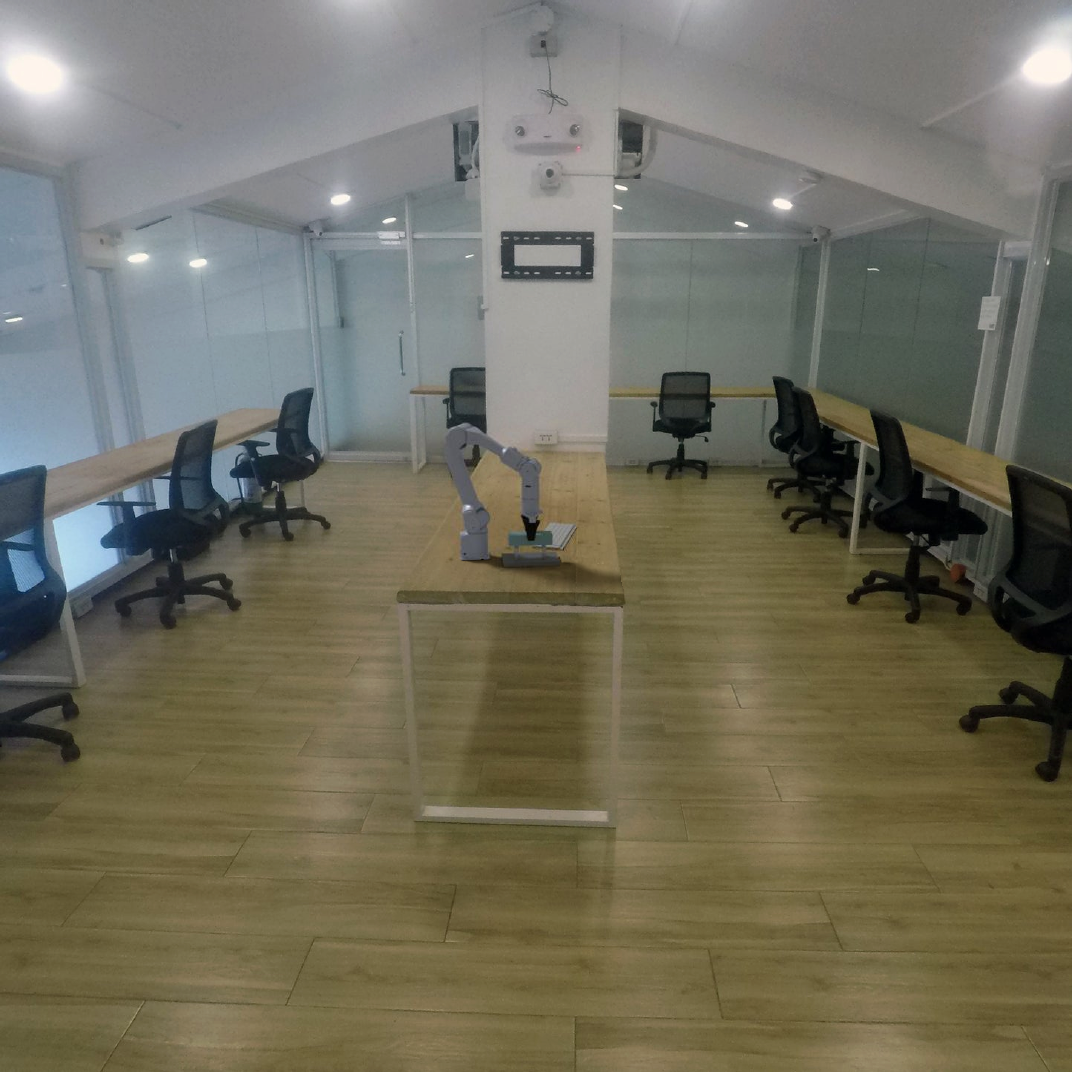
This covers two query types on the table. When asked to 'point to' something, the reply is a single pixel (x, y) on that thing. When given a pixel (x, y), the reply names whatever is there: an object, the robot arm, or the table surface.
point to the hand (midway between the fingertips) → (530, 538)
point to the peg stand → (530, 558)
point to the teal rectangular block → (522, 540)
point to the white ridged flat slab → (559, 535)
